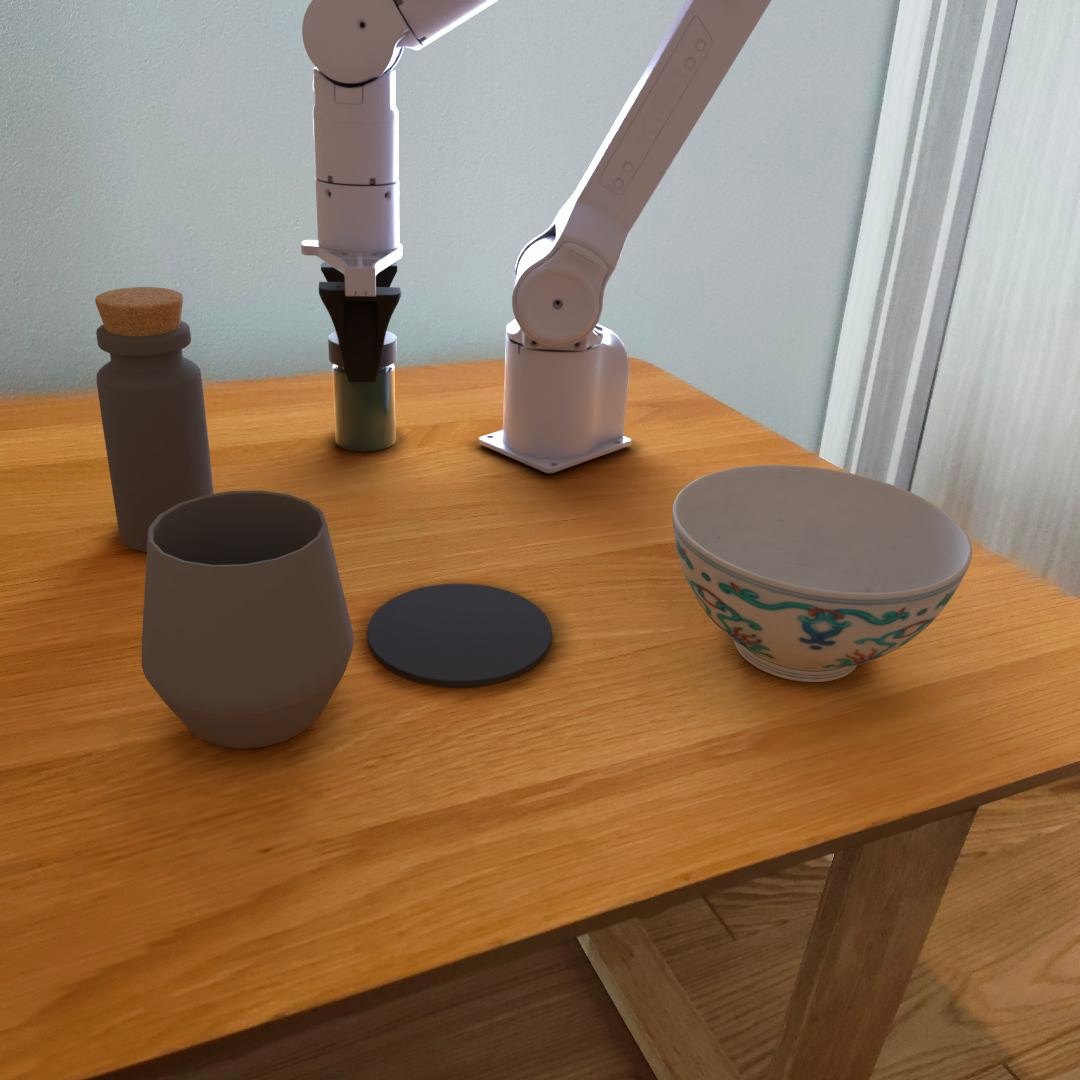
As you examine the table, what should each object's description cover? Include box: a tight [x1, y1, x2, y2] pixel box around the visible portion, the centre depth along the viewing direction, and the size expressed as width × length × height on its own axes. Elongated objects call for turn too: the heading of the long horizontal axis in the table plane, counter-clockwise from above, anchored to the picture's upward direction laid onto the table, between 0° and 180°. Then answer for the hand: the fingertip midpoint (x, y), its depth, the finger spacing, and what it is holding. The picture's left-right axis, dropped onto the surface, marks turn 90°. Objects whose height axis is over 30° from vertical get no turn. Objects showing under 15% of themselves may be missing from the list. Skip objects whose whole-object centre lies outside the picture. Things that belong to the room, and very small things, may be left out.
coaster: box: [366, 583, 553, 688], centre depth 58 cm, size 10×10×1 cm
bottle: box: [94, 286, 215, 553], centre depth 63 cm, size 6×6×15 cm
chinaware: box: [672, 464, 973, 683], centre depth 56 cm, size 15×15×8 cm
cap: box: [327, 330, 398, 368], centre depth 79 cm, size 5×5×2 cm
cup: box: [141, 489, 355, 750], centre depth 48 cm, size 10×9×10 cm
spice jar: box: [331, 364, 397, 452], centre depth 80 cm, size 5×5×8 cm
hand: (361, 368), depth 79 cm, fingers closed on cap, 5 cm apart
